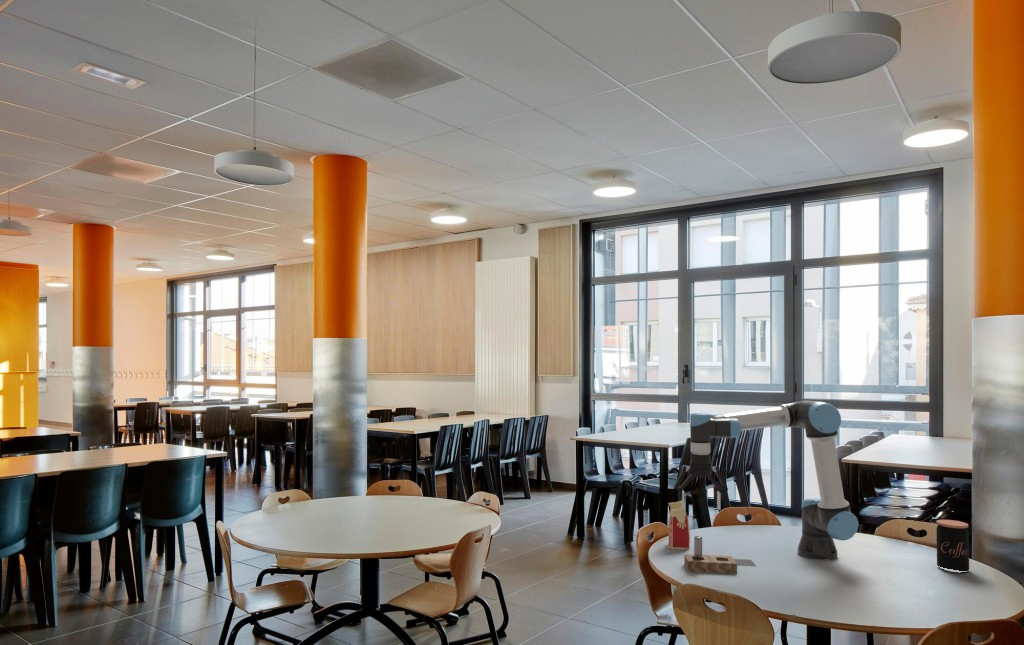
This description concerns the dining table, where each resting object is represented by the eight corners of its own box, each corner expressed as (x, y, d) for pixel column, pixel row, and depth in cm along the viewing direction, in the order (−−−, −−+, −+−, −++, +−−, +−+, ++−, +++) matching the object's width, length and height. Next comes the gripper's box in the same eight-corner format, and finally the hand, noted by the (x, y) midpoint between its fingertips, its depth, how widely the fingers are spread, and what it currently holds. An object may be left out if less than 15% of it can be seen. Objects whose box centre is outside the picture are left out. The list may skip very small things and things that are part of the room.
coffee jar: (938, 570, 268) (937, 523, 269) (936, 563, 277) (935, 518, 278) (971, 575, 263) (970, 527, 264) (967, 568, 272) (966, 521, 273)
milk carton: (687, 544, 301) (687, 497, 302) (690, 550, 292) (690, 502, 293) (666, 543, 302) (666, 497, 303) (668, 549, 293) (669, 501, 294)
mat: (751, 560, 278) (751, 559, 278) (756, 567, 269) (756, 566, 269) (728, 559, 279) (728, 558, 279) (732, 566, 270) (732, 565, 270)
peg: (701, 567, 267) (701, 536, 268) (702, 570, 264) (702, 538, 265) (693, 567, 268) (693, 535, 268) (694, 569, 265) (694, 537, 265)
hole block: (731, 566, 270) (731, 556, 270) (737, 574, 260) (737, 563, 260) (684, 564, 272) (684, 554, 272) (688, 572, 262) (688, 561, 262)
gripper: (731, 452, 272) (731, 507, 271) (666, 451, 275) (666, 505, 274) (735, 455, 265) (736, 511, 264) (669, 454, 267) (669, 509, 266)
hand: (700, 508), depth 269 cm, fingers open, 13 cm apart
